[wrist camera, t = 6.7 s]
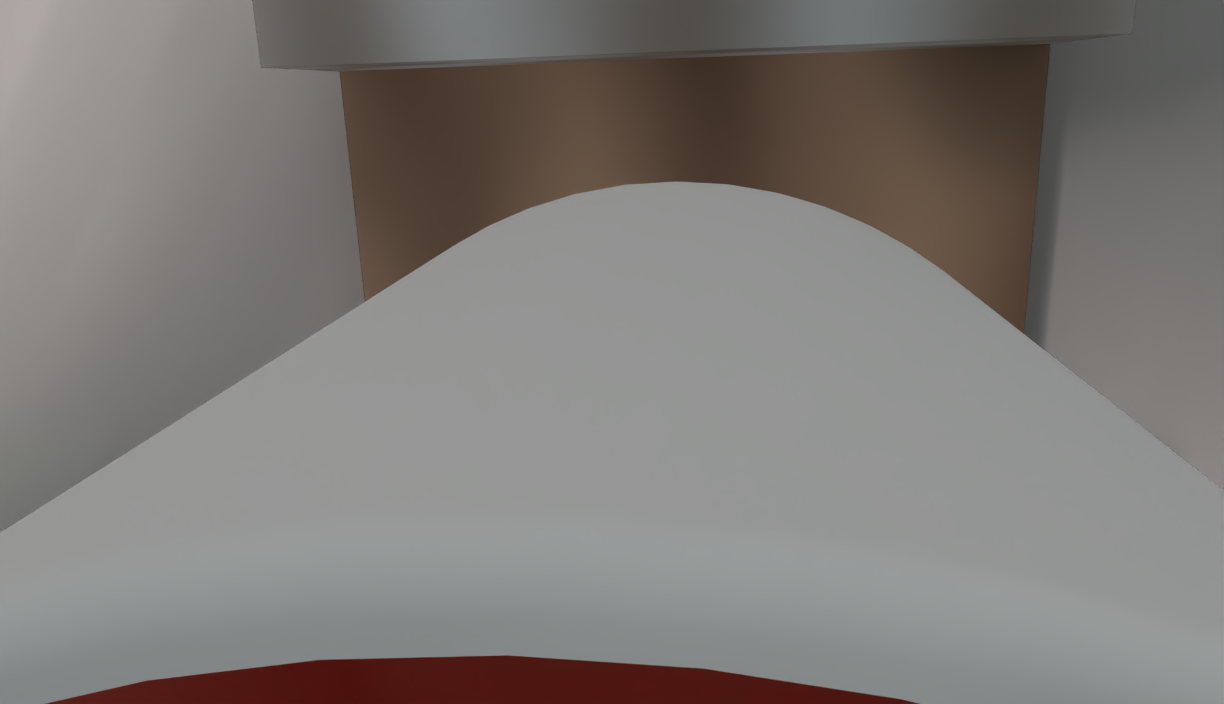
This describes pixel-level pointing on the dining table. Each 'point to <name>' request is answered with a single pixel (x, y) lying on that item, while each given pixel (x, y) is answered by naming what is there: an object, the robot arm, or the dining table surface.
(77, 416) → the dining table surface
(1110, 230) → the dining table surface
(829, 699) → the cup
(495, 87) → the cradle
